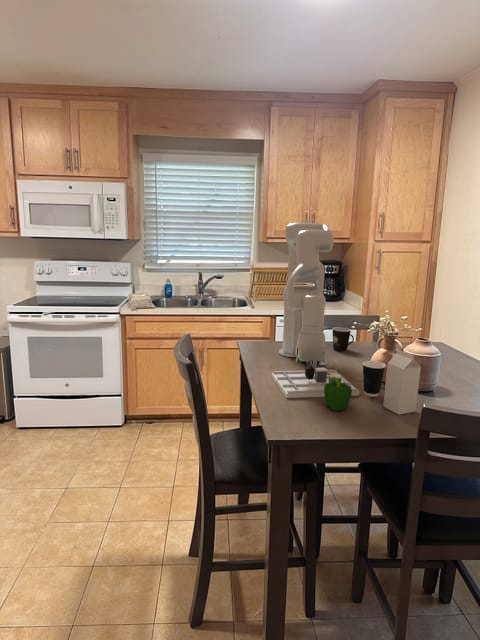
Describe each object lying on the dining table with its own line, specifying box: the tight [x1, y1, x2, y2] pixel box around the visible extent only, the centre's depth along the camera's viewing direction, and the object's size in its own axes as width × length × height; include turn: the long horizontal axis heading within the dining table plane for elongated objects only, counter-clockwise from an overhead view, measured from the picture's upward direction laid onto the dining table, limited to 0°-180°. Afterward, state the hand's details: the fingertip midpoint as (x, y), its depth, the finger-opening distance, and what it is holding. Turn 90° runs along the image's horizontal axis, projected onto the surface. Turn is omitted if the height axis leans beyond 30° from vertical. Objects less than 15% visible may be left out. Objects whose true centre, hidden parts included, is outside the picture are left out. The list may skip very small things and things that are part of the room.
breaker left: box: [314, 362, 327, 374], centre depth 173 cm, size 2×4×5 cm, turn 99°
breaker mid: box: [315, 367, 328, 382], centre depth 164 cm, size 2×4×5 cm, turn 99°
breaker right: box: [329, 374, 341, 383], centre depth 157 cm, size 2×4×5 cm, turn 99°
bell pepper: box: [324, 377, 352, 412], centre depth 144 cm, size 8×8×10 cm
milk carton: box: [383, 349, 422, 415], centre depth 143 cm, size 7×7×19 cm
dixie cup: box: [361, 360, 387, 397], centre depth 157 cm, size 8×8×11 cm
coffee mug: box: [331, 326, 355, 353], centre depth 213 cm, size 12×9×10 cm
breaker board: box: [271, 369, 360, 399], centre depth 165 cm, size 22×26×2 cm
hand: (309, 378), depth 164 cm, fingers closed
